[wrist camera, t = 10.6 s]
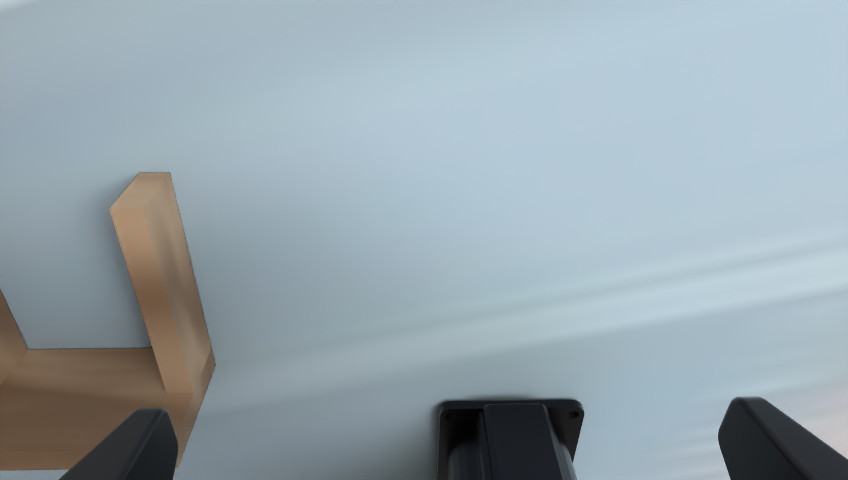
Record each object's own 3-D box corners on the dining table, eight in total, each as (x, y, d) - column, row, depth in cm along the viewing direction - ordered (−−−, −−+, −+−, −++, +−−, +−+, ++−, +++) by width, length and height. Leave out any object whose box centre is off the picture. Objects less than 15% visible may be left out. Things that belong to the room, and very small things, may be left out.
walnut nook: (215, 365, 25) (178, 467, 21) (11, 367, 25) (-69, 472, 20) (169, 172, 20) (108, 254, 16) (-86, 172, 20) (-218, 256, 15)
